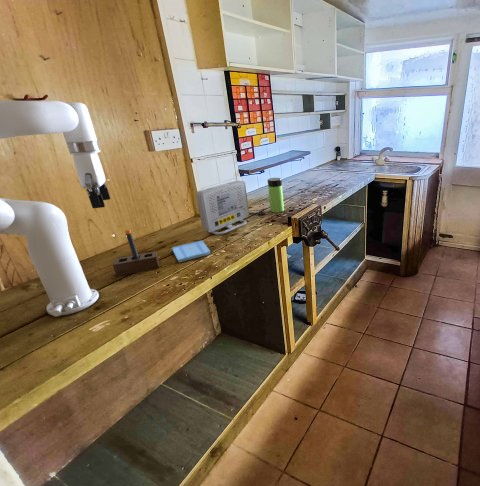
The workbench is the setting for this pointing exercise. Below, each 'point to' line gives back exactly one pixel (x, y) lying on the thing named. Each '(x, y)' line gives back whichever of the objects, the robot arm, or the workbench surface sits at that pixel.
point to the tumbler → (275, 195)
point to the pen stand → (136, 263)
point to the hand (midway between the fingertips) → (102, 203)
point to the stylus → (131, 244)
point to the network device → (223, 206)
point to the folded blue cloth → (190, 251)
